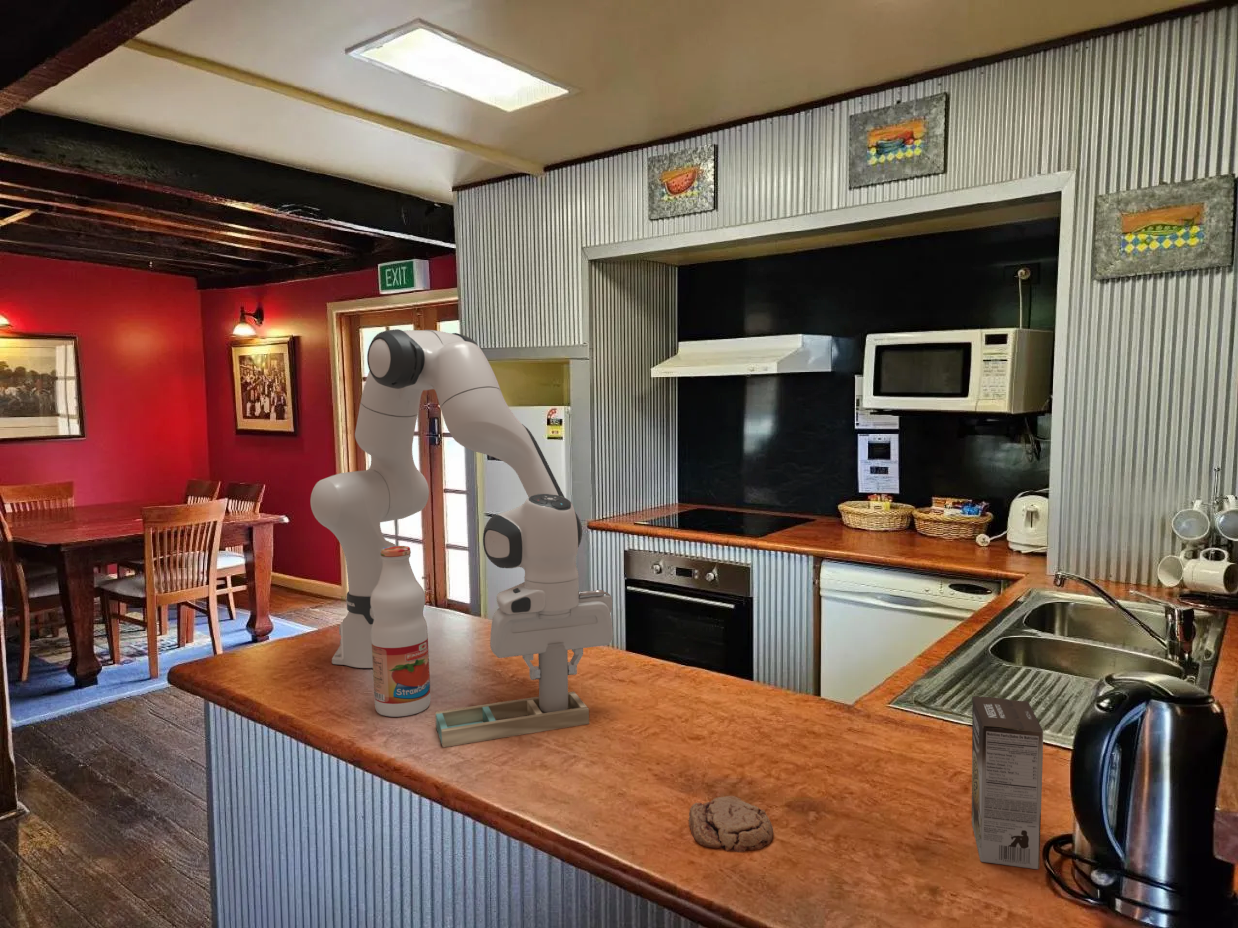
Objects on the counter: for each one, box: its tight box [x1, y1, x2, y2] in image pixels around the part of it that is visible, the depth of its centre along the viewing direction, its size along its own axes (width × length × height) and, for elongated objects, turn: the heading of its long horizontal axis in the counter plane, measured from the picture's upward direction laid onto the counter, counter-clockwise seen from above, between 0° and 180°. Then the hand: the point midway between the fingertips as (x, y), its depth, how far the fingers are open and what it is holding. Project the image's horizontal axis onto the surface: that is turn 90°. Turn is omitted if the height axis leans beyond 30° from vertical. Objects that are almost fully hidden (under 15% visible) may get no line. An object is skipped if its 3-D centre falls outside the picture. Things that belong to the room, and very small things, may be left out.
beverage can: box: [537, 642, 569, 714], centre depth 138 cm, size 5×5×12 cm
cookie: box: [688, 795, 774, 853], centre depth 102 cm, size 10×11×3 cm
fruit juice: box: [370, 545, 432, 718], centre depth 143 cm, size 9×9×28 cm
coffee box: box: [971, 696, 1044, 870], centre depth 96 cm, size 9×6×16 cm
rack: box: [434, 691, 590, 748], centre depth 135 cm, size 8×24×2 cm, turn 109°
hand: (553, 676), depth 138 cm, fingers closed on beverage can, 5 cm apart
